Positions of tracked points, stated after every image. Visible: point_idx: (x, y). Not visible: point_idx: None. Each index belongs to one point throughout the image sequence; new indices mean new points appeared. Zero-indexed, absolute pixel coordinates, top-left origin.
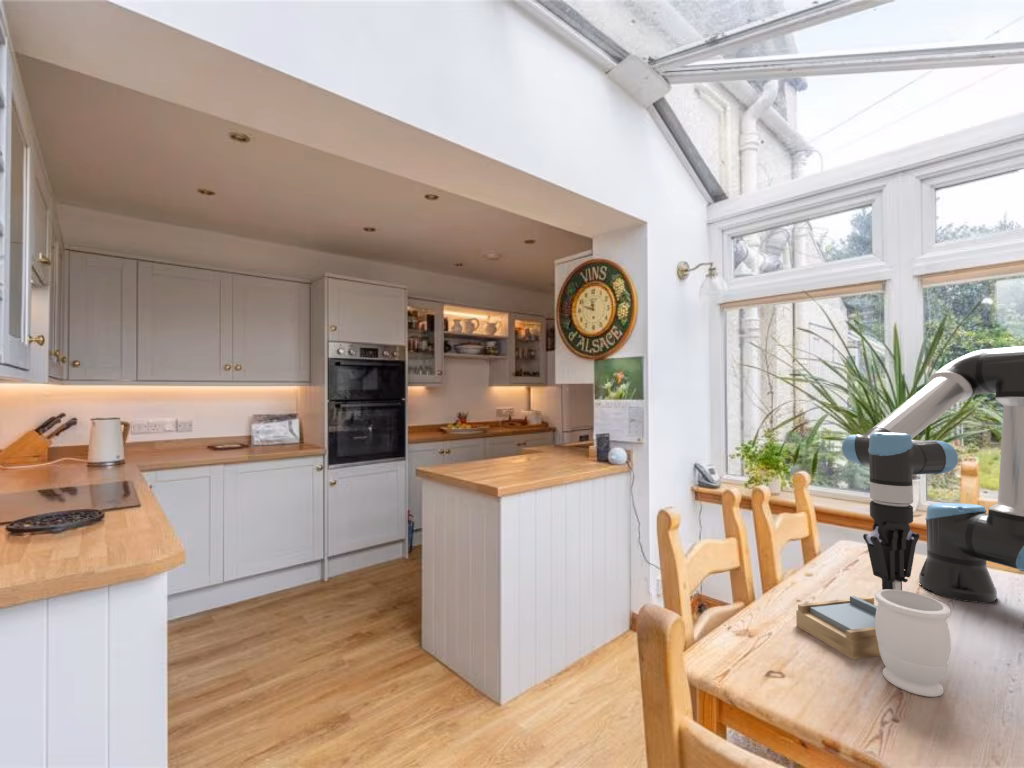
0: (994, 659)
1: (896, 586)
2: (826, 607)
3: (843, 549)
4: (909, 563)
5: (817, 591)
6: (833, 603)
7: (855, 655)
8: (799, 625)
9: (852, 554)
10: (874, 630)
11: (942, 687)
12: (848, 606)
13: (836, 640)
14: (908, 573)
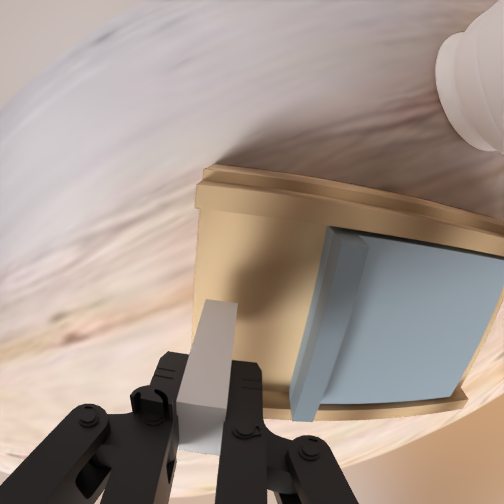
0: (105, 64)
1: (221, 387)
2: (416, 392)
3: (10, 470)
4: (47, 478)
5: (191, 463)
6: (371, 407)
7: (495, 219)
8: None
9: (6, 460)
10: (478, 231)
11: (459, 33)
12: (347, 387)
13: None
14: (87, 425)
